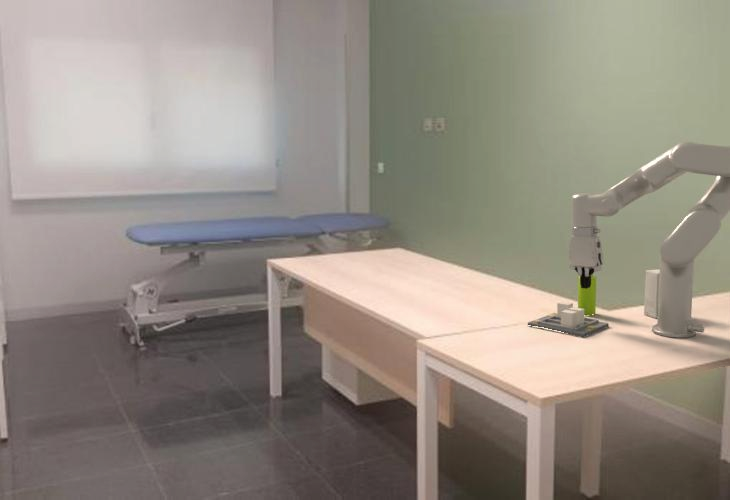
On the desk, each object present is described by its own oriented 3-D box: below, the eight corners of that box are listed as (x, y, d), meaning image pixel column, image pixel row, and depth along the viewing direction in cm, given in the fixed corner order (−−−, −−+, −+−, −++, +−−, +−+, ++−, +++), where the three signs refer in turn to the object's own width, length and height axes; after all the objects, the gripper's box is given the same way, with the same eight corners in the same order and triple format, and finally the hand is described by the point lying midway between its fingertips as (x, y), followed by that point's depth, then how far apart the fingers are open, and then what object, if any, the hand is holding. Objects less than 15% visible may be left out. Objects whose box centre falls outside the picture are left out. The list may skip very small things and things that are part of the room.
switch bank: (608, 326, 221) (608, 320, 221) (583, 337, 211) (583, 331, 210) (554, 316, 236) (554, 310, 236) (527, 326, 225) (527, 320, 225)
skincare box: (655, 319, 229) (657, 273, 227) (642, 314, 235) (644, 270, 233) (676, 316, 231) (678, 271, 229) (663, 312, 237) (664, 268, 235)
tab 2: (576, 326, 217) (577, 311, 217) (571, 328, 215) (572, 313, 215) (565, 324, 220) (565, 309, 220) (560, 326, 218) (560, 311, 218)
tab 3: (584, 324, 220) (584, 309, 220) (579, 325, 218) (579, 310, 218) (572, 321, 223) (573, 307, 223) (568, 323, 221) (568, 308, 221)
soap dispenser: (585, 317, 234) (586, 260, 230) (574, 312, 240) (575, 256, 237) (600, 315, 235) (602, 258, 232) (589, 311, 242) (590, 255, 238)
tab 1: (572, 317, 228) (572, 303, 228) (567, 319, 226) (568, 304, 226) (561, 315, 231) (562, 301, 231) (557, 317, 229) (557, 303, 228)
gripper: (612, 231, 217) (613, 287, 219) (569, 229, 227) (571, 283, 230) (600, 234, 211) (601, 292, 214) (557, 232, 222) (559, 287, 225)
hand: (585, 287), depth 222 cm, fingers closed
